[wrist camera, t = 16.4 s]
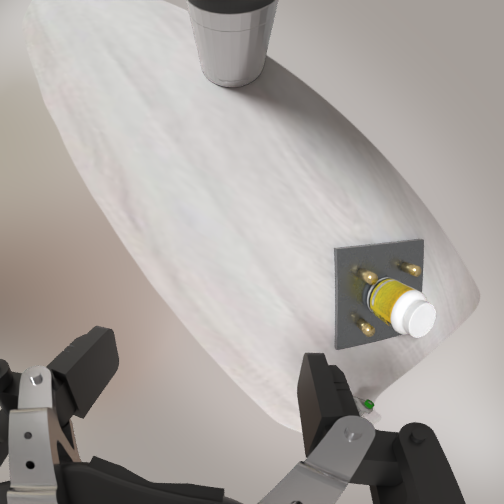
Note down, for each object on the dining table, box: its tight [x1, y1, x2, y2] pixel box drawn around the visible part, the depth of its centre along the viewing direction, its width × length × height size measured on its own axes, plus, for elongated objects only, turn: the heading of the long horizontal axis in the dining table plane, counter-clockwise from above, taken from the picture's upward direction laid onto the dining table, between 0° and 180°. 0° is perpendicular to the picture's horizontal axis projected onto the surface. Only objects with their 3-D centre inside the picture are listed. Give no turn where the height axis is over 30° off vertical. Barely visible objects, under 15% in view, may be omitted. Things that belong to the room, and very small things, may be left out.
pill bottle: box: [367, 277, 436, 338], centre depth 33 cm, size 6×6×11 cm
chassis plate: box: [334, 239, 424, 350], centre depth 38 cm, size 16×16×4 cm
